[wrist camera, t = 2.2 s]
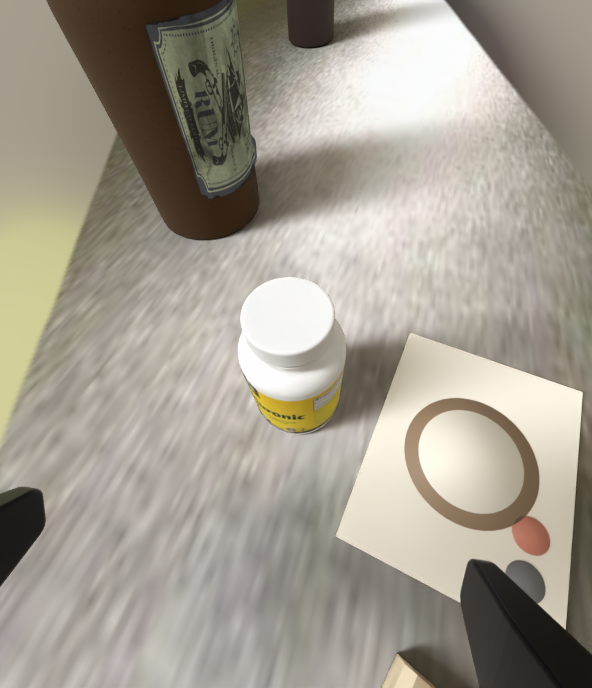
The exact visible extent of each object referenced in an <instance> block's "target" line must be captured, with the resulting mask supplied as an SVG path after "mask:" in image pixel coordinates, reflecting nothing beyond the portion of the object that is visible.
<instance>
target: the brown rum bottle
mask: <svg viewBox="0 0 592 688" xmlns="http://www.w3.org/2000/svg"><path fill="white" fill-rule="evenodd" d="M47 2H48V5H49V7H50V9H51V11H52V13H53V15H54V17H55V18H56V20H57V22H58V24H59V26H60V28H61V30H62V31H63V33H64V35H65V37H66V39H67V41H68V42H69V44H70V46H71V48H72V50H73V51H74V53H75V55H76V57H77V58H78V61H79V62H80V64H81V66H82V68H83V70H84V71H85V73H86V75H87V77H88V79H89V81H90V83H91V84H92V86H93V88H94V90H95V92H96V93H97V95H98V97H99V99H100V101H101V103H102V105H103V106H104V108H105V110H106V112H107V114H108V116H109V118H110V119H111V121H112V123H113V125H114V127H115V129H116V131H117V132H118V134H119V136H120V138H121V140H122V142H123V144H124V145H125V147H126V149H127V151H128V153H129V155H130V157H131V159H132V160H133V162H134V164H135V166H136V168H137V170H138V172H139V174H140V175H141V177H142V179H143V181H144V183H145V185H146V187H147V189H148V191H149V193H150V195H151V197H152V199H153V201H154V203H155V205H156V207H157V209H158V211H159V212H160V214H161V216H162V218H163V220H164V222H165V223H166V225H167V226H168V227H169V228H170V229H171V230H172V231H173V232H175V233H176V234H178V235H180V236H183V237H186V238H191V239H200V240H205V239H214V238H219V237H223V236H226V235H229V234H231V233H233V232H235V231H237V230H239V229H241V228H242V227H243V226H245V225H246V224H247V223H248V222H249V221H250V220H251V219H252V218H253V216H254V215H255V213H256V211H257V209H258V205H259V195H258V187H257V180H256V172H255V165H254V164H256V163H255V162H256V161H257V159H256V158H257V152H256V142H255V139H254V138H253V137H252V135H251V132H250V123H249V114H248V106H247V97H246V88H245V80H244V71H243V62H242V52H241V43H240V34H239V24H238V15H237V6H236V0H47Z"/></svg>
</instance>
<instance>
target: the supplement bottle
mask: <svg viewBox="0 0 592 688" xmlns="http://www.w3.org/2000/svg"><path fill="white" fill-rule="evenodd" d="M241 327H242V330H243V331H242V333H241V336H240V339H239V344H238V358H239V363H240V366H241V369H242V372H243V375H244V377H245V379H246V381H247V383H248V385H249V387H250V390H251V392H252V394H253V397H254V399H255V401H256V403H257V406H258V408H259V410H260V412H261V414H262V415H263V417H264V418H265V419H266V421H267V422H268V423H269V424H270V425H271V426H273V427H274V428H276V429H277V430H279V431H281V432H284V433H288V434H294V435H302V434H308V433H311V432H314V431H316V430H318V429H319V428H321V427H322V426H324V425H325V424H326V423H327V422H328V421H329V420H330V419H331V417H332V416H333V414H334V412H335V410H336V408H337V405H338V402H339V396H340V390H341V384H342V378H343V372H344V366H345V361H346V339H345V335H344V332H343V330H342V328H341V326H340V324H339V323H338V321H337V320H336V319H335V310H334V306H333V303H332V300H331V299H330V297H329V295H328V294H327V293H326V292H325V291H324V290H323V289H322V288H321V287H320V286H318V285H317V284H315V283H313V282H311V281H309V280H306V279H302V278H296V277H283V278H277V279H273V280H270V281H268V282H266V283H264V284H262V285H260V286H259V287H257V288H256V289H255V290H254V291H253V292H252V293H251V294H250V295H249V296H248V297H247V299H246V301H245V302H244V305H243V307H242V311H241Z"/></svg>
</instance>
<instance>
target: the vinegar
mask: <svg viewBox="0 0 592 688" xmlns="http://www.w3.org/2000/svg"><path fill="white" fill-rule="evenodd" d="M287 15H288V33H289V40H290V42H291V43H292V44H294V45H295V46H299V47H305V48H312V47H319V46H322V45H325V44H327V43H329V42H330V41H331V39H332V38H333V25H334V0H287Z"/></svg>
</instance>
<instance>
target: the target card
mask: <svg viewBox="0 0 592 688" xmlns="http://www.w3.org/2000/svg"><path fill="white" fill-rule="evenodd" d="M582 395H583V392H580V391H578V390H575V389H572V388H569V387H566V386H563V385H560V384H557V383H554V382H551V381H549V380H546V379H543V378H540V377H537V376H534V375H531V374H528V373H525V372H523V371H520V370H517V369H514V368H511V367H508V366H505V365H502V364H499V363H497V362H494V361H491V360H488V359H485V358H482V357H479V356H476V355H473V354H471V353H468V352H465V351H462V350H459V349H456V348H453V347H450V346H447V345H444V344H442V343H439V342H436V341H433V340H430V339H427V338H424V337H421V336H418V335H416V334H413V333H410V334H409V337H408V340H407V342H406V345H405V348H404V351H403V353H402V356H401V359H400V361H399V364H398V367H397V370H396V372H395V375H394V378H393V381H392V383H391V386H390V389H389V391H388V394H387V397H386V400H385V402H384V405H383V408H382V411H381V413H380V416H379V419H378V422H377V424H376V427H375V430H374V432H373V435H372V438H371V441H370V443H369V446H368V449H367V452H366V454H365V457H364V460H363V462H362V465H361V468H360V471H359V473H358V476H357V479H356V482H355V484H354V487H353V490H352V492H351V495H350V498H349V501H348V503H347V506H346V509H345V512H344V514H343V517H342V520H341V523H340V525H339V528H338V531H337V533H336V537H338V538H339V539H341V540H343V541H345V542H347V543H349V544H351V545H353V546H354V547H356V548H358V549H360V550H362V551H364V552H366V553H368V554H369V555H371V556H373V557H375V558H377V559H379V560H381V561H383V562H384V563H386V564H388V565H390V566H392V567H394V568H396V569H398V570H399V571H401V572H403V573H405V574H407V575H409V576H411V577H413V578H414V579H416V580H418V581H420V582H422V583H424V584H426V585H427V586H429V587H431V588H433V589H435V590H437V591H439V592H441V593H442V594H444V595H446V596H448V597H450V598H452V599H454V600H456V601H457V602H459V603H460V591H461V587H462V582H463V578H464V574H465V570H466V566H467V563H468V561H469V560H470V559H480V560H486V561H490V562H493V563H494V564H496V565H497V566H498V567H499V568H500V569H501V570H502V571H503V572H504V573H505V574H507V575H508V576H509V577H510V578H511V579H512V580H513V581H514V582H515V583H516V584H517V585H518V586H519V587H520V588H521V589H523V590H524V591H525V592H526V593H527V594H528V595H529V596H530V597H531V598H532V599H533V600H534V601H535V602H536V603H537V604H538V605H540V606H541V607H542V608H543V609H544V610H545V611H546V612H547V613H548V614H549V615H550V616H551V617H552V618H553V619H554V620H556V621H557V622H558V623H559V624H560V625H561V626H562V627H563V628H564V629H565V630H566V618H567V604H568V590H569V576H570V562H571V548H572V535H573V521H574V507H575V493H576V479H577V465H578V451H579V437H580V423H581V409H582Z"/></svg>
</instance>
